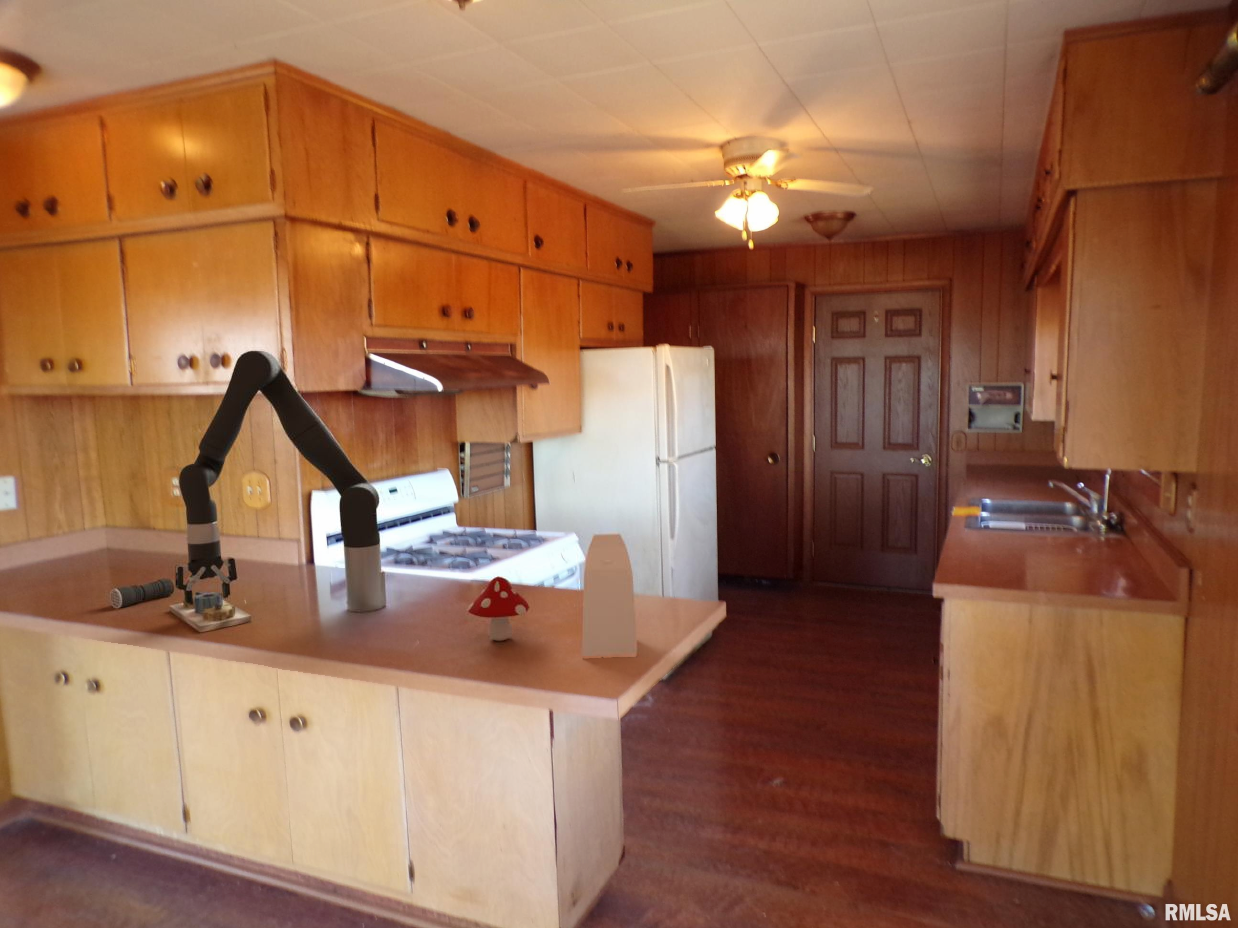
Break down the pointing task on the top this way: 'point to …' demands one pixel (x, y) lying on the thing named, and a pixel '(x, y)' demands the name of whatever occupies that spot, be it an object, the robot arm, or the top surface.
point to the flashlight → (140, 593)
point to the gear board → (210, 615)
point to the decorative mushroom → (499, 607)
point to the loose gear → (206, 601)
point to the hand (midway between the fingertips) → (208, 600)
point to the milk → (608, 598)
